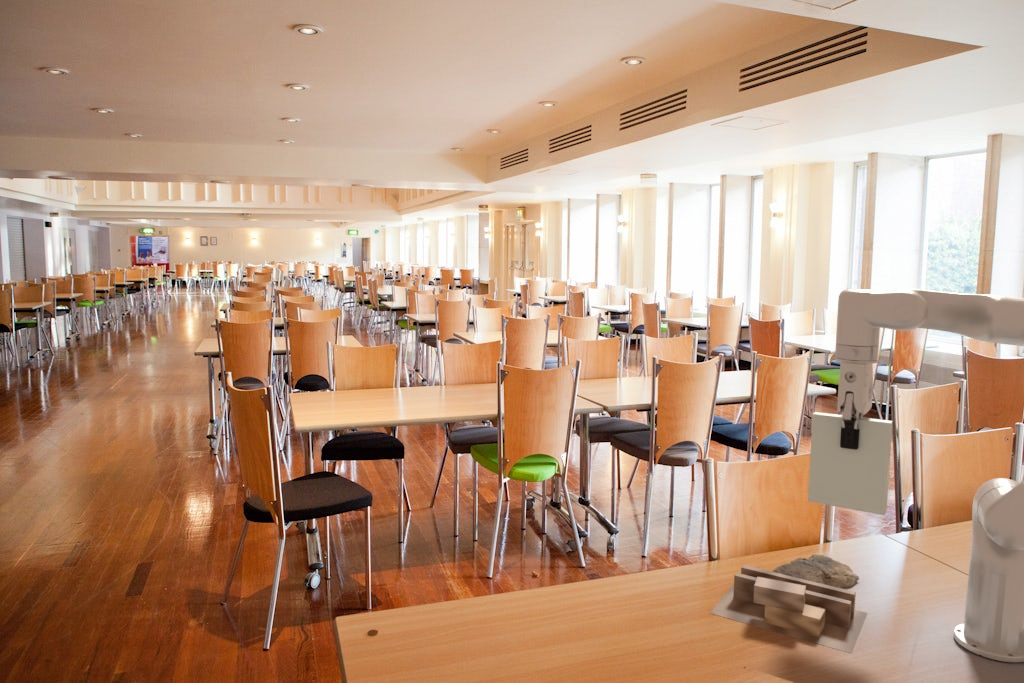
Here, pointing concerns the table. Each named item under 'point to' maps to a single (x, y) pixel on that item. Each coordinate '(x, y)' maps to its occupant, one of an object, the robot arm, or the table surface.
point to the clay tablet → (820, 571)
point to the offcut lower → (797, 619)
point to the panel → (850, 464)
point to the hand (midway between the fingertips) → (850, 445)
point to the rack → (837, 602)
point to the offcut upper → (779, 594)
